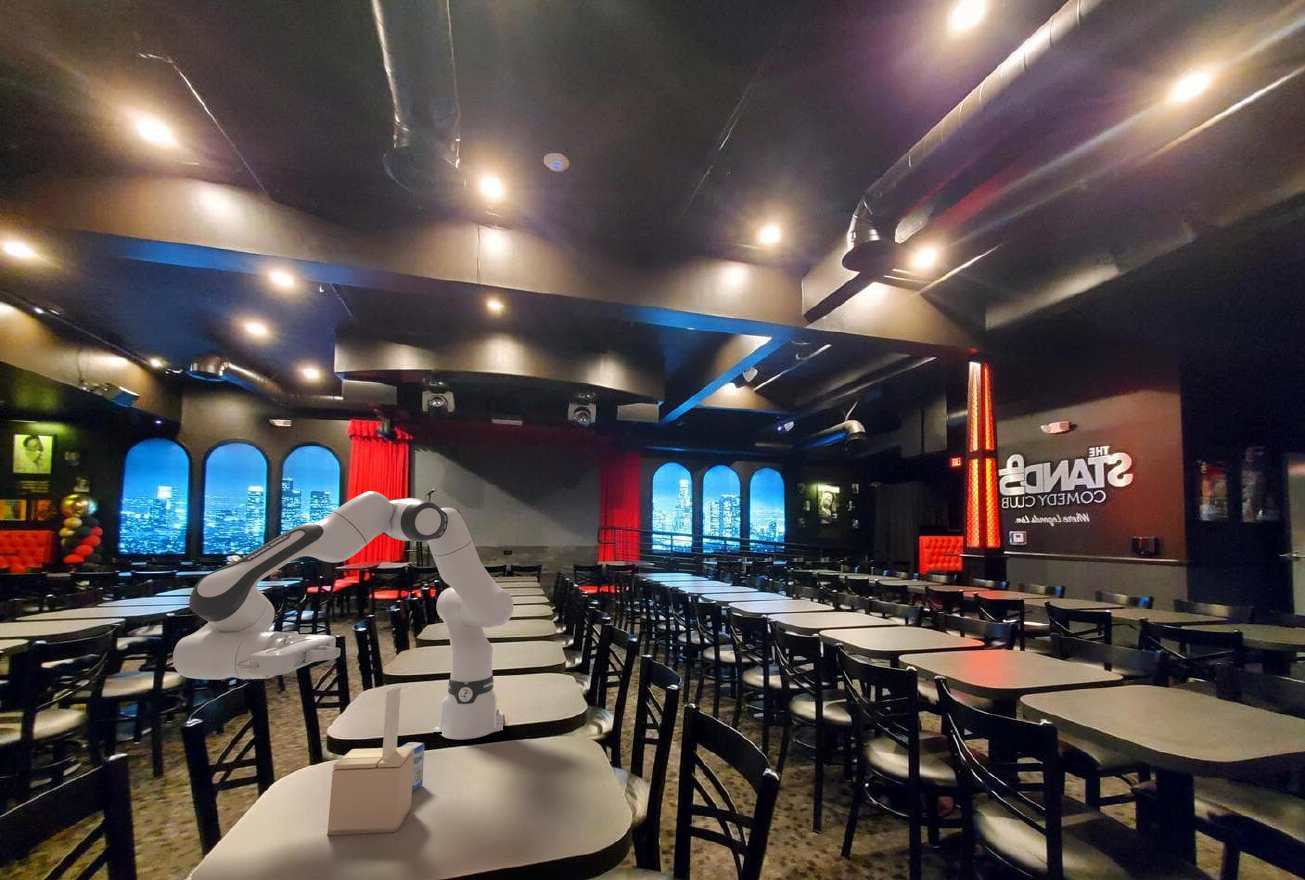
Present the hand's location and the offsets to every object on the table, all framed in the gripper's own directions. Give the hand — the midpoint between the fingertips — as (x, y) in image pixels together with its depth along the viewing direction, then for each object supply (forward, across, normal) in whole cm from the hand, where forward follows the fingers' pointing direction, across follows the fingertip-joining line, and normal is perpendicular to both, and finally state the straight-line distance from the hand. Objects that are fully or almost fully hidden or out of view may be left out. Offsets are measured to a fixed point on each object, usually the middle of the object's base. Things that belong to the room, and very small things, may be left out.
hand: (337, 653), depth 111 cm
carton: (+10, -3, +30) cm, 32 cm away
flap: (+14, -3, +19) cm, 24 cm away
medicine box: (+12, +9, +30) cm, 34 cm away
